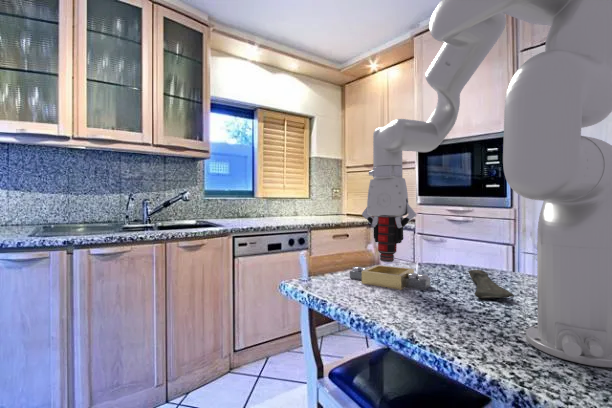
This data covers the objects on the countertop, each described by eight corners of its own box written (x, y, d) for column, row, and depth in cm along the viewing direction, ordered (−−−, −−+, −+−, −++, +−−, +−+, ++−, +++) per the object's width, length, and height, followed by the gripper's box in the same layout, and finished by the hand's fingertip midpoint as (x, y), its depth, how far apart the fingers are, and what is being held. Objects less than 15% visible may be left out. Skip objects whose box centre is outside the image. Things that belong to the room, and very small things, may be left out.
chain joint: (422, 293, 77) (422, 278, 77) (344, 282, 89) (344, 269, 89) (433, 284, 86) (433, 271, 86) (361, 275, 98) (361, 263, 98)
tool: (516, 303, 70) (515, 289, 70) (476, 302, 72) (476, 289, 72) (487, 275, 90) (486, 264, 90) (456, 275, 92) (456, 264, 92)
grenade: (371, 258, 90) (372, 203, 90) (387, 257, 92) (388, 204, 91) (382, 263, 84) (384, 204, 84) (399, 262, 85) (401, 204, 85)
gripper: (352, 174, 89) (353, 241, 89) (416, 170, 79) (416, 246, 79) (364, 176, 95) (364, 239, 95) (424, 173, 86) (424, 242, 86)
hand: (388, 241), depth 87 cm, fingers closed on grenade, 4 cm apart
